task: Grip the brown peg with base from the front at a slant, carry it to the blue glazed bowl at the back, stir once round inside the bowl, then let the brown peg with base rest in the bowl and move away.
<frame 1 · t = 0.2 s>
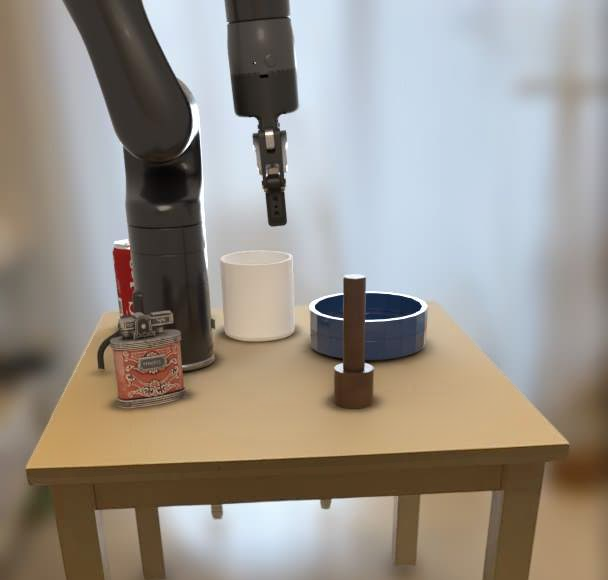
hand: (277, 219, 107), 17 cm above the table, tool pointing down, fingers open, 8 cm apart
brown peg with base: (353, 401, 101), on the table
soda can: (139, 327, 130), on the table
bowl: (367, 346, 119), on the table
mug: (255, 331, 128), on the table
lighter: (152, 401, 103), on the table
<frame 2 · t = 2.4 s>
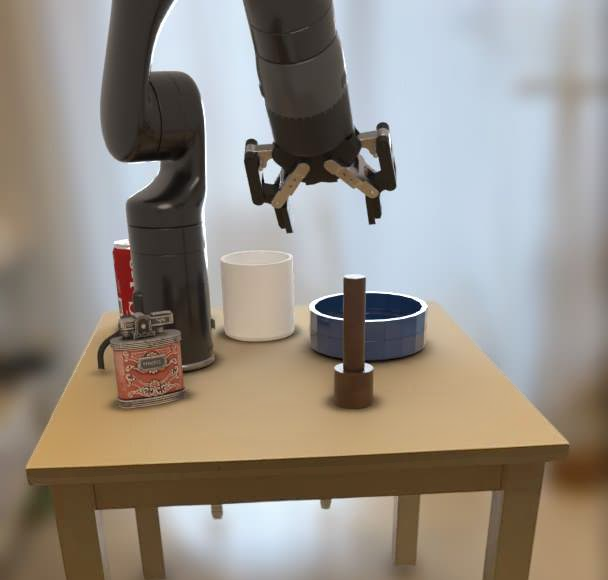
hand: (331, 223, 92), 19 cm above the table, tool tilted 35°, fingers open, 8 cm apart
nothing on the table moved.
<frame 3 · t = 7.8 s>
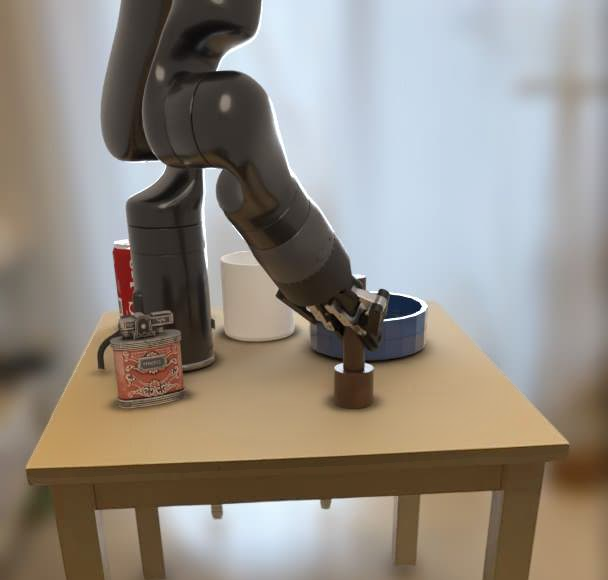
hand: (363, 341, 99), 6 cm above the table, tool tilted 45°, fingers closed on brown peg with base, 2 cm apart
brown peg with base: (353, 401, 101), on the table, touching gripper
everything else where it was.
when the fingers open (7 cm above the table, at t = 21.6 s): brown peg with base stays where it is, resting on bowl.
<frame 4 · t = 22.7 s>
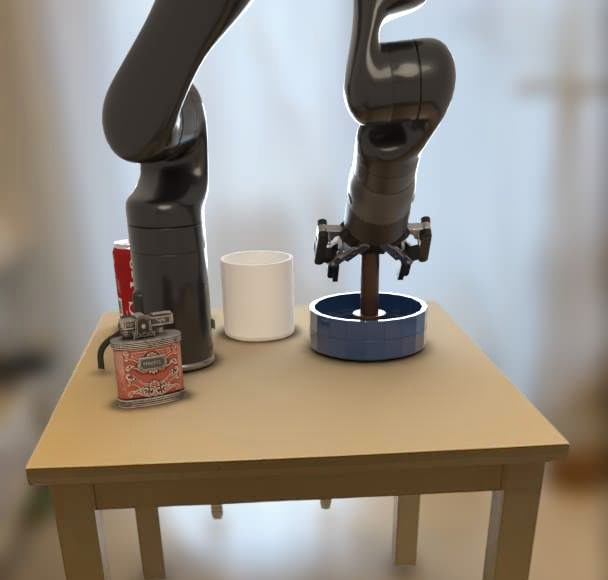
hand: (366, 275, 116), 9 cm above the table, tool tilted 45°, fingers open, 8 cm apart
brown peg with base: (368, 342, 119), point 1 cm above the table, touching bowl
everything else where it was.
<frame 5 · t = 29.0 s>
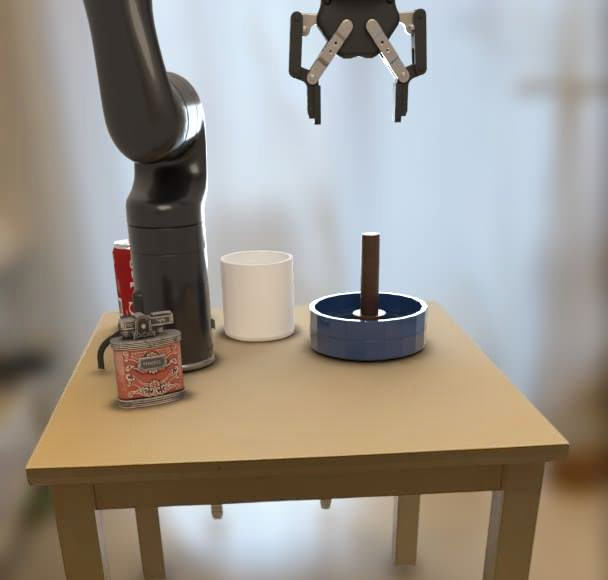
hand: (356, 123, 95), 28 cm above the table, tool pointing down, fingers open, 8 cm apart
nothing on the table moved.
at the end: brown peg with base inside the target area in the bowl (0.2 cm from its centre), point 0.6 cm above the bowl's base; brown peg with base moved 21.3 cm from its start; the gripper is holding nothing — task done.
